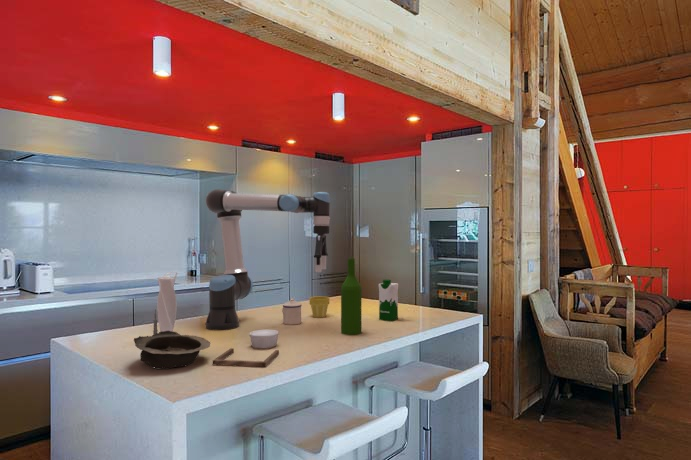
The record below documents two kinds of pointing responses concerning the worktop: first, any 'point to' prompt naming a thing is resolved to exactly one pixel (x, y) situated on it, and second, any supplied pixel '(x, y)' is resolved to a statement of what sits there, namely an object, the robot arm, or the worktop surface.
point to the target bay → (264, 363)
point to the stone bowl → (170, 349)
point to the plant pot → (319, 305)
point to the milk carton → (388, 301)
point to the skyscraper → (166, 304)
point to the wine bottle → (351, 302)
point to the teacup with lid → (291, 312)
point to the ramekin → (264, 338)
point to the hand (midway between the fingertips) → (320, 270)
